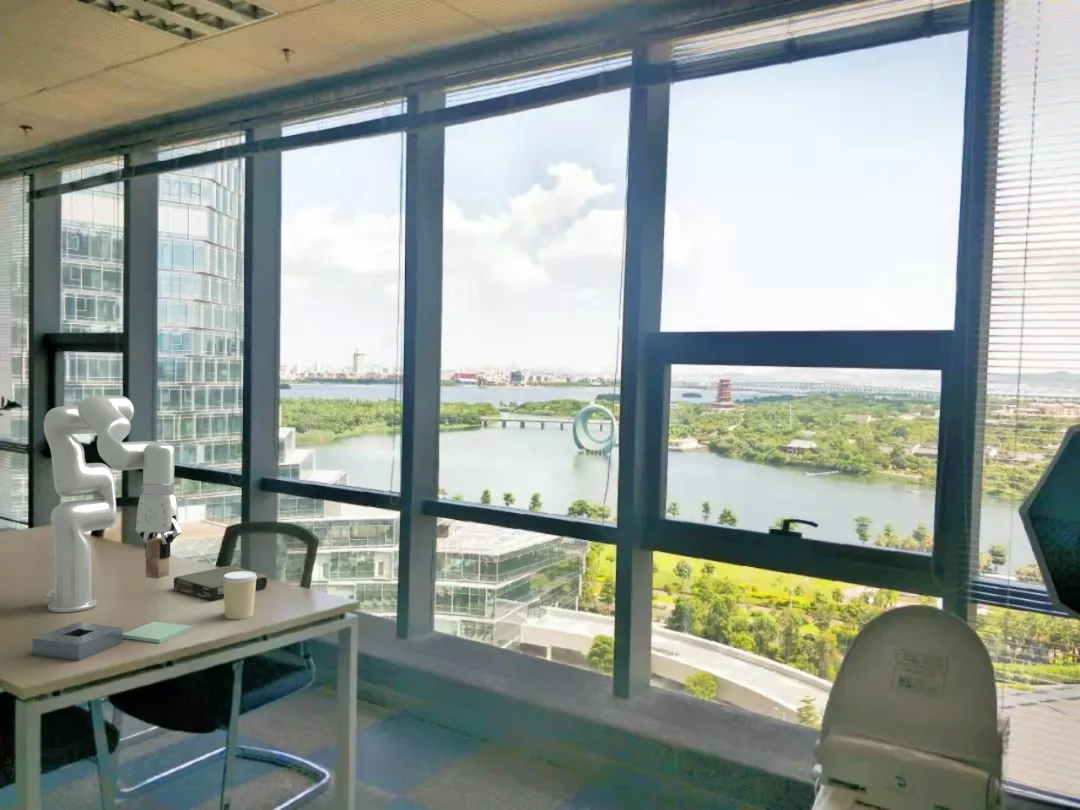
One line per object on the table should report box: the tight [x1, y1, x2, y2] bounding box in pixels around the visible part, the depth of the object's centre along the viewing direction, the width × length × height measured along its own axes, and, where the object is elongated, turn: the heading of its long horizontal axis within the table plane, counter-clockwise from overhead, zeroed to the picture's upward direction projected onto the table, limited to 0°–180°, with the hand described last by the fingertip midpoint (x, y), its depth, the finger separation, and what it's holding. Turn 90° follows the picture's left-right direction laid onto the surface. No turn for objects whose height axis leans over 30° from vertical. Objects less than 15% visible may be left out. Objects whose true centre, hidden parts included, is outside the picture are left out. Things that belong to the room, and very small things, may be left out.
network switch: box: [173, 565, 268, 602], centre depth 263 cm, size 23×23×5 cm
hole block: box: [32, 621, 123, 662], centre depth 204 cm, size 14×14×4 cm
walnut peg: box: [145, 537, 170, 580], centre depth 216 cm, size 4×4×10 cm
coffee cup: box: [223, 570, 257, 620], centre depth 235 cm, size 9×9×12 cm
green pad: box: [122, 621, 192, 644], centre depth 217 cm, size 12×12×1 cm
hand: (157, 556), depth 216 cm, fingers closed on walnut peg, 4 cm apart
